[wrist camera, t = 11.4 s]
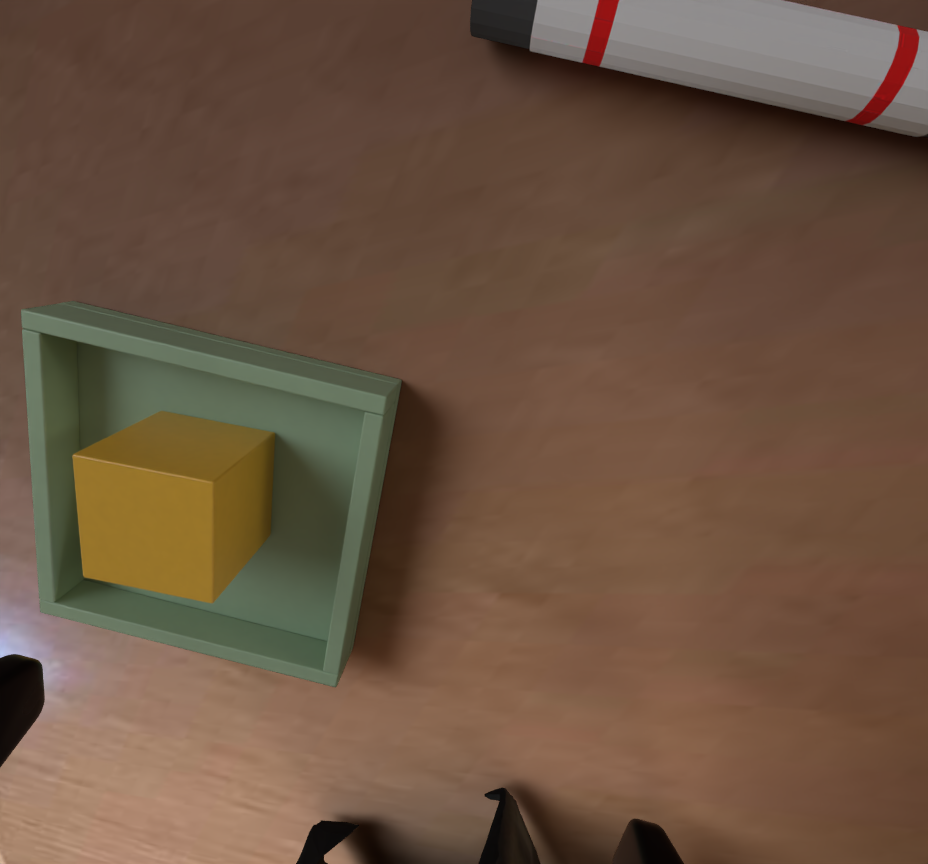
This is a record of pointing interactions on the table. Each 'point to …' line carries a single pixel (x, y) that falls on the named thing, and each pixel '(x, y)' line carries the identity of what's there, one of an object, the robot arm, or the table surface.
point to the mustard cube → (174, 504)
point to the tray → (229, 401)
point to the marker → (735, 51)
